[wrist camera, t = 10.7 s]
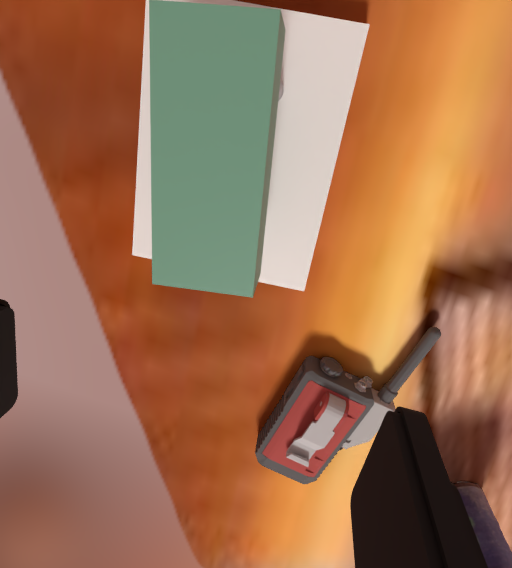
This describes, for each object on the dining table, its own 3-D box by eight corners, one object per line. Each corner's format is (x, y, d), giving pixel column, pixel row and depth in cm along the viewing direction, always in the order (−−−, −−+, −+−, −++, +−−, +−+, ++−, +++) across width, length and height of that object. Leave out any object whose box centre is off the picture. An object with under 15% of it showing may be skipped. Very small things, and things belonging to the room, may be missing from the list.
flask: (480, 479, 37) (542, 606, 27) (482, 501, 38) (542, 632, 28) (380, 486, 39) (405, 608, 29) (385, 507, 40) (409, 632, 30)
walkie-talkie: (326, 478, 40) (444, 326, 32) (328, 518, 36) (463, 355, 28) (249, 443, 40) (350, 280, 32) (242, 480, 35) (356, 302, 28)
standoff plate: (366, 30, 25) (380, 5, 20) (304, 284, 32) (303, 313, 27) (155, -8, 26) (117, -41, 21) (139, 249, 33) (108, 272, 28)
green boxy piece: (285, 30, 21) (280, 9, 17) (260, 273, 26) (252, 297, 23) (176, 21, 21) (149, -1, 18) (173, 262, 27) (152, 283, 23)
